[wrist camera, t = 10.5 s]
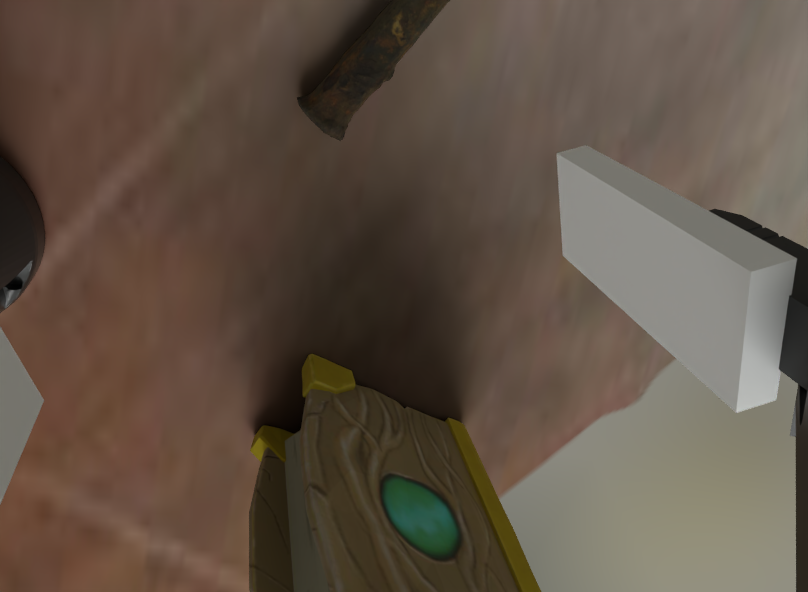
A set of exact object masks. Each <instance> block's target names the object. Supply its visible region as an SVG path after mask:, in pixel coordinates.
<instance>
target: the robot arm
mask: <svg viewBox="0 0 808 592" xmlns="http://www.w3.org/2000/svg"><path fill="white" fill-rule="evenodd" d="M557 168H558V184H559V201H560V217H561V234H562V250H563V256H564V257H565V258H566V259H567V260H568V261H569V262H571V263H572V264H573V265H574V266H575V267H576V268H577V269H578V270H579V271H580V272H582V273H583V274H584V275H585V276H586V277H587V278H588V279H589V280H590V281H591V282H593V283H594V284H595V285H596V286H597V287H598V288H599V289H600V290H601V291H602V292H604V293H605V294H606V295H607V296H608V297H609V298H610V299H611V300H612V301H613V302H615V303H616V304H617V305H618V306H619V307H620V308H621V309H622V310H623V311H624V312H626V313H627V314H628V315H629V316H630V317H631V318H632V319H633V320H634V321H635V322H637V323H638V324H639V325H640V326H641V327H642V328H643V329H644V330H645V331H646V332H648V333H649V334H650V335H651V336H652V337H653V338H654V339H655V340H656V341H657V342H659V343H660V344H661V345H662V346H663V347H664V348H665V349H666V350H667V351H669V352H670V353H671V354H672V355H673V356H674V357H675V358H676V359H677V360H678V361H680V362H681V363H682V364H683V365H684V366H685V367H686V368H687V369H688V370H689V371H691V372H692V373H693V374H694V375H695V376H696V377H697V378H698V379H699V380H700V381H702V382H703V383H704V384H705V385H706V386H707V387H708V388H709V389H710V390H711V391H713V392H714V393H715V394H716V395H717V396H718V397H719V398H720V399H721V400H723V401H724V402H725V403H726V404H727V405H728V406H729V407H730V408H731V409H732V410H734V411H735V412H736V413H737V412H741V411H743V410H747V409H750V408H753V407H756V406H759V405H762V404H766V403H769V402H771V401H775V400H776V399H777V392H778V385H779V378H780V371H782V372H783V373H785V374H786V375H787V376H788V377H790V378H791V379H792V380H794V381H795V382H797V383H798V390H797V396H796V403H795V408H794V414H793V421H792V427H791V433H790V435H791V436H795V437H796V592H808V249H807V248H805V247H803V246H801V245H799V244H797V243H795V242H793V241H791V240H789V239H787V238H785V237H783V236H781V237H779V236H778V234H777V233H776V232H774V231H772V230H770V229H768V228H762V225H760V224H758V223H756V222H754V221H752V220H750V219H748V218H746V217H744V216H742V215H739V214H734V213H730V212H726V211H722V210H718V209H713V210H709V211H708V210H706V209H704V208H702V207H700V206H698V205H697V204H695V203H693V202H691V201H689V200H687V199H685V198H684V197H682V196H680V195H678V194H676V193H674V192H672V191H670V190H669V189H667V188H665V187H663V186H661V185H659V184H657V183H656V182H654V181H652V180H650V179H648V178H646V177H644V176H643V175H641V174H639V173H637V172H635V171H633V170H631V169H630V168H628V167H626V166H624V165H622V164H620V163H618V162H617V161H615V160H613V159H611V158H609V157H607V156H605V155H603V154H602V153H600V152H598V151H596V150H594V149H592V148H590V147H589V146H587V145H586V146H582V147H578V148H574V149H570V150H567V151H563V152H559V153H557ZM44 246H45V231H44V224H43V220H42V216H41V213H40V210H39V207H38V205H37V202H36V200H35V198H34V196H33V194H32V193H31V191H30V189H29V188H28V186H27V185H26V183H25V182H24V180H23V179H22V178H21V177H20V175H19V174H18V173H17V172H16V171H15V170H14V169H13V167H12V166H10V165H9V164H8V163H7V162H6V161H5V160H4V159H3V158H2V157H1V156H0V313H1V312H2V311H4V310H5V309H6V308H8V307H9V306H10V305H11V304H12V303H14V302H15V301H16V300H17V299H18V298H19V297H20V296H21V294H22V293H23V292H24V290H25V289H26V288H27V286H28V285H29V283H30V282H31V280H32V279H33V277H34V276H35V274H36V272H37V270H38V268H39V266H40V263H41V260H42V257H43V253H44ZM43 402H44V400H43V398H42V396H41V395H40V393H39V391H38V390H37V388H36V386H35V384H34V383H33V381H32V379H31V378H30V376H29V374H28V373H27V371H26V369H25V368H24V366H23V364H22V363H21V361H20V359H19V358H18V356H17V354H16V352H15V351H14V349H13V347H12V346H11V344H10V342H9V341H8V339H7V337H6V336H5V334H4V332H3V331H2V329H1V327H0V504H1V501H2V499H3V497H4V494H5V492H6V489H7V487H8V485H9V482H10V480H11V478H12V475H13V473H14V470H15V468H16V466H17V463H18V461H19V459H20V456H21V454H22V451H23V449H24V447H25V444H26V442H27V440H28V437H29V435H30V432H31V430H32V428H33V425H34V423H35V421H36V418H37V416H38V413H39V411H40V409H41V406H42V404H43Z"/></svg>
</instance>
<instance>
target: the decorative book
mask: <svg viewBox="0 0 808 592" xmlns="http://www.w3.org/2000/svg"><path fill="white" fill-rule="evenodd" d="M302 383H303V397H305V398H306V400H305V406H304V413H303V419H302V425H301V430H300V431H298V432H297V433H295V434H293V433H290V432H288V431H285V430H283V429H280V428H276V427H271V426H266V425H264V426H262V427H261V428H260V429H259V431H258V432H257V434H256V435H255V436H254V440H253V443H252V446H251V450H250V451H251V452H252V453H253V454H254V455H255V456H256V457H257V458H258V459H259V461H260V462H261V464H260V468H259V471H258V475H257V479H256V484H255V488H254V493H253V498H252V502H251V507H250V511H249V590H250V592H541V590H540V588H539V586H538V584H537V582H536V579H535V577H534V575H533V573H532V571H531V569H530V566H529V564H528V562H527V560H526V557H525V555H524V553H523V550H522V548H521V546H520V543H519V541H518V539H517V536H516V534H515V532H514V530H513V527H512V525H511V523H510V521H509V519H508V517H507V515H506V513H505V511H504V509H503V507H502V505H501V503H500V501H499V499H498V496H497V494H496V492H495V490H494V488H493V486H492V484H491V481H490V479H489V477H488V475H487V473H486V471H485V468H484V466H483V464H482V462H481V460H480V458H479V455H478V453H477V451H476V449H475V447H474V445H473V443H472V441H471V438H470V436H469V434H468V432H467V430H466V428H465V426H464V425H463V424H462V423H461V422H459V421H456V420H454V419H451V418H449V417H448V418H447V419H446V421H445V422H444V421H441V420H439V419H436V418H433V417H431V416H429V415H426V414H424V413H421V412H419V411H417V410H414V409H412V408H409V407H406V408H403V407H402V406H401V405H400V404H399V403H398V402H397V401H395V400H393V399H391V398H389V397H387V396H385V395H383V394H381V393H379V392H377V391H375V390H373V389H370V388H367V387H363V386H360V385H356V384H355V380H354V377H353V373H352V371H351V370H349V369H346V368H344V367H342V366H340V365H337V364H335V363H333V362H330V361H328V360H326V359H324V358H321V357H319V356H317V355H314V354H310V355H308V357H307V359H306V361H305V363H304V365H303V367H302Z"/></svg>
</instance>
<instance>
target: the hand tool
mask: <svg viewBox="0 0 808 592" xmlns="http://www.w3.org/2000/svg"><path fill="white" fill-rule="evenodd" d="M449 1H450V0H392V1H391V2H390V3H389V5H388V6H387V7H386V8H385V9H384V10H383V11H382V12H381V13H380V14H379V16H378V17H377V18H376V19H375V21H374V22H373V24H372V25H371V26H370V27H369V28H368V29H367V30H366V31H365V33H364V34H363V35H362V36H361V37H360V38H358V39H357V40H356V42H355V43H354V44H353V45H352V46H351V47H350V48H349V49H348V50H347V51H346V52H345V53H344V54H343V56H342V57H341V59H340V60H339V61H338V63H337V64H336V65H335V66H334V67H333V69H332V71H331V72H330V73H329V74H328V75H327V77H326V78H325V79H324V80H323V81H322V83H321V84H320V85H319V86H318V87H317V88H316V89H315V90H314V91H313V92H312V93H310V94H309V95H307V96H304V97H297V99H298V103H299V106H300V107H301V109H302V110H303V112H304V113H305V114H306V115H307V116H308V117H309V118H310V120H311V121H313V122H314V123H315V124H316V125H317V126H318V127H319V128H320V129H321V130H322V131H323V132H324V133H326V134H328V135H330V136H331V137H333V138H336V139H337V140H339V141H341V140H343V137H344V134H345V130H346V129H347V127H348V123H349V122H350V120H351V117H352V116H353V115H354V113H355V112H356V111H357V110H358V109H359V108H360V107H361V106H362V105H363V103H364V102H365V100H366V99H367V98H368V97H369V96H370V95H371V94H372V93H373V92H374V91H376V90H377V89H378V88H380V86H381V84H382V83H383V82H385V81H388V80H390V79H391V77H392V76H393V73H394V68H395V66H396V64H397V63H398V61H399V60H400V59H401V58H402V57H403V56H404V54H405V53H406V52H407V51H408V50H409V49H410V48H411V46H412V45H413V44H414V43H415V42H416V41H417V39H418V38H419V36H420V35H421V34H422V33H423V32H424V30H425V29H426V28H427V27H428V26H429V24H430V23H431V22H432V21H433V19H434V18H435V17H436V16H437V15H438V13H439V12H440V11H441V10H442V9H443V8H444V6H445V5H446V4H447V3H448V2H449Z"/></svg>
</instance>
